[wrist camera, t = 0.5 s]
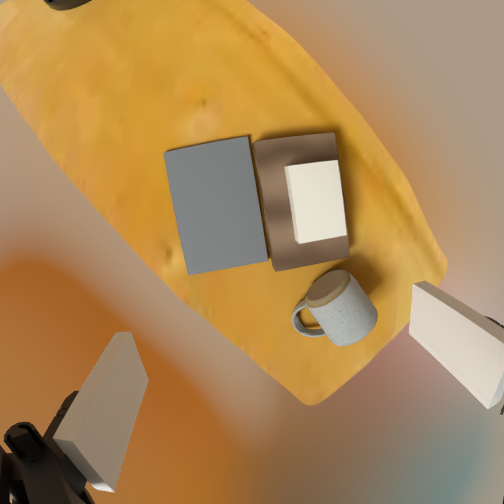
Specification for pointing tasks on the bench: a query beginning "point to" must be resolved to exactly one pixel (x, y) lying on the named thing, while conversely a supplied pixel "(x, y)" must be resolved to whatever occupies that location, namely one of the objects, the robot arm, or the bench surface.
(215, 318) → the bench surface
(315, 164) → the white rectangular block
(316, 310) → the ceramic mug
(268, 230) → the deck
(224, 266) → the mat
